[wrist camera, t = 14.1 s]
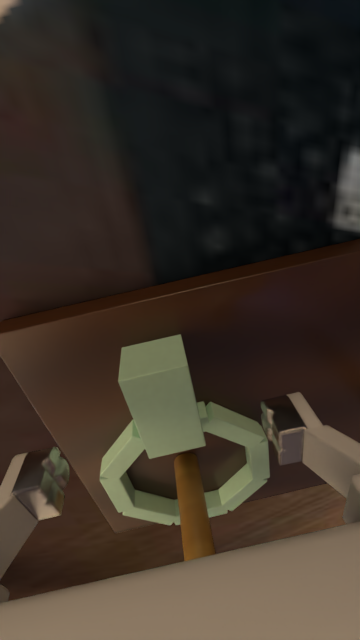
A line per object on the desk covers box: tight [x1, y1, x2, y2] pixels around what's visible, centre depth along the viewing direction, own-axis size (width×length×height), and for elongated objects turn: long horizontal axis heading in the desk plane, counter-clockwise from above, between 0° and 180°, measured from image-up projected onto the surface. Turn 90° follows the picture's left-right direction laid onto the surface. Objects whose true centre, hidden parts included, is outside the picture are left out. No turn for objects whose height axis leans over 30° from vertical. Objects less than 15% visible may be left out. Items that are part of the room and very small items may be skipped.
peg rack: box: [0, 239, 360, 561], centre depth 13 cm, size 19×28×13 cm
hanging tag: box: [100, 334, 270, 525], centre depth 17 cm, size 15×10×2 cm
